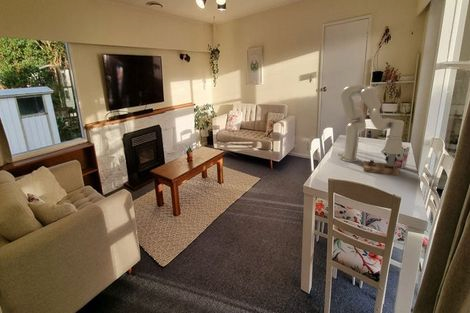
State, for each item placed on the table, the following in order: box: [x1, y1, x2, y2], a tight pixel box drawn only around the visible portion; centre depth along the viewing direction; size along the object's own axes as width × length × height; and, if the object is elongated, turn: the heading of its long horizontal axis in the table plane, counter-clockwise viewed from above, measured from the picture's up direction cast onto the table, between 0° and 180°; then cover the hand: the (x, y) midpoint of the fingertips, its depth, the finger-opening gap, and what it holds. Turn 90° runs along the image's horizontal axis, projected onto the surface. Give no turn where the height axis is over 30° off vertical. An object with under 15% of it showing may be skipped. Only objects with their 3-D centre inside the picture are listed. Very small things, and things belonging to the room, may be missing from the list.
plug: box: [385, 154, 395, 166], centre depth 178 cm, size 4×4×8 cm
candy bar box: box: [394, 144, 410, 170], centre depth 186 cm, size 11×5×16 cm, turn 21°
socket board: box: [362, 159, 400, 176], centre depth 183 cm, size 22×14×4 cm, turn 65°
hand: (390, 161), depth 178 cm, fingers closed on plug, 4 cm apart
